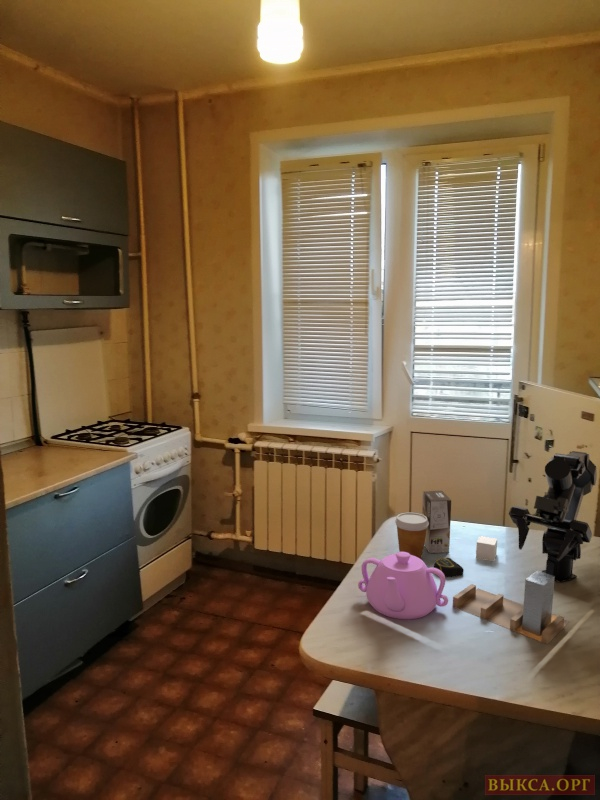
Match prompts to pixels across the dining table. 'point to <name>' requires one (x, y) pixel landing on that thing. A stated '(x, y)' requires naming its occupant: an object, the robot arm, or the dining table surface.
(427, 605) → the teapot
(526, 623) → the tall grey box
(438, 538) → the coffee box
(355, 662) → the dining table surface
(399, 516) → the disposable coffee cup
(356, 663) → the dining table surface
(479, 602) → the rail rack
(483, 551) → the cream white cube
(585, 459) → the robot arm
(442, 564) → the tape measure
